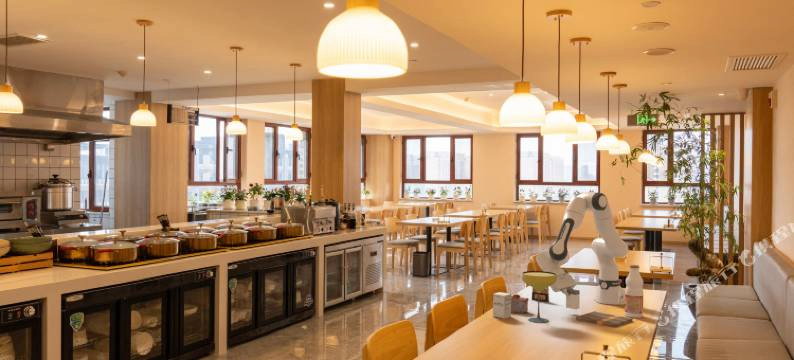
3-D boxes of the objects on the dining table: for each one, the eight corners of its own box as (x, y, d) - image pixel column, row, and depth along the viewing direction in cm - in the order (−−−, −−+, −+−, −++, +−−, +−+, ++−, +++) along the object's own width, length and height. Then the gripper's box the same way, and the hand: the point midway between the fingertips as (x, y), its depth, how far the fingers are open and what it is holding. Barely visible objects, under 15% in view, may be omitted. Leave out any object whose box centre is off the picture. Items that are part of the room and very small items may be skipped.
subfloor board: (594, 313, 346) (594, 311, 346) (632, 321, 330) (632, 318, 330) (575, 319, 332) (575, 316, 332) (614, 327, 316) (614, 324, 316)
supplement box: (492, 316, 337) (492, 293, 336) (499, 314, 342) (500, 291, 342) (503, 319, 332) (504, 295, 331) (511, 316, 337) (511, 293, 337)
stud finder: (569, 306, 349) (570, 288, 348) (579, 308, 344) (579, 290, 344) (566, 307, 346) (566, 289, 346) (575, 309, 341) (575, 291, 341)
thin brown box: (549, 301, 377) (549, 282, 377) (547, 302, 376) (548, 282, 376) (532, 299, 384) (533, 280, 384) (531, 299, 382) (531, 280, 382)
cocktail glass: (536, 326, 317) (537, 277, 317) (514, 318, 333) (514, 272, 333) (563, 322, 325) (564, 275, 325) (540, 315, 341) (541, 269, 341)
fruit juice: (632, 318, 336) (633, 267, 336) (621, 314, 345) (621, 264, 344) (646, 317, 339) (647, 266, 339) (634, 313, 348) (635, 263, 348)
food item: (529, 311, 350) (529, 294, 350) (526, 314, 343) (526, 296, 343) (506, 309, 356) (506, 292, 356) (502, 311, 349) (502, 294, 349)
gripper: (549, 274, 344) (564, 294, 337) (569, 270, 358) (584, 289, 351) (542, 281, 347) (557, 301, 340) (562, 276, 361) (577, 296, 354)
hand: (571, 295), depth 346 cm, fingers closed on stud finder, 4 cm apart
